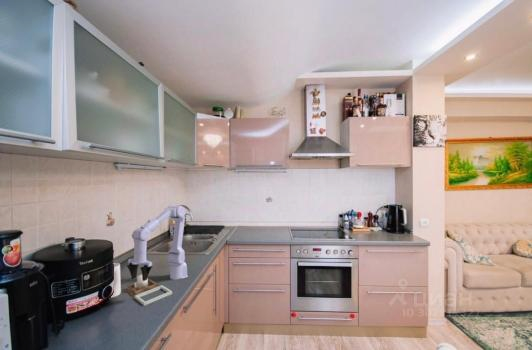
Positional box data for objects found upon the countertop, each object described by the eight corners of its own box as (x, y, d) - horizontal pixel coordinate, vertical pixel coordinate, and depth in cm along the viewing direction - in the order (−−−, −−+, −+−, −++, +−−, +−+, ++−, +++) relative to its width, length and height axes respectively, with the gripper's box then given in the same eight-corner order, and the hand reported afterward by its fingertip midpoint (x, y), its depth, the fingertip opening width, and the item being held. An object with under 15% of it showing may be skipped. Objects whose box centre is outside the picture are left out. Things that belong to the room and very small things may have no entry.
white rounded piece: (145, 285, 134) (145, 272, 134) (149, 287, 131) (149, 275, 131) (133, 289, 129) (132, 276, 129) (136, 292, 126) (136, 279, 126)
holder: (150, 281, 140) (149, 277, 140) (161, 288, 131) (161, 283, 131) (124, 291, 130) (123, 286, 129) (134, 299, 120) (134, 294, 120)
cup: (124, 291, 129) (123, 262, 129) (115, 299, 121) (114, 268, 121) (108, 292, 129) (107, 263, 129) (98, 300, 120) (97, 269, 120)
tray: (162, 289, 130) (162, 285, 130) (172, 295, 123) (172, 291, 123) (135, 300, 120) (134, 295, 120) (144, 307, 113) (144, 302, 113)
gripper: (123, 252, 121) (122, 279, 120) (144, 255, 115) (143, 284, 115) (135, 249, 127) (134, 275, 126) (155, 251, 122) (154, 279, 121)
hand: (139, 279), depth 121 cm, fingers open, 7 cm apart
